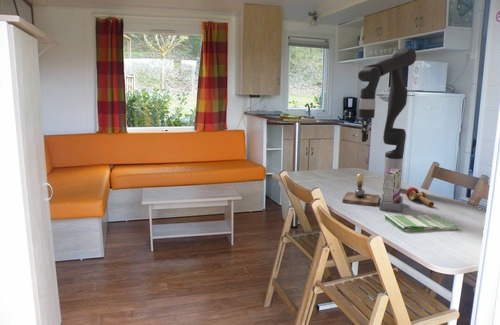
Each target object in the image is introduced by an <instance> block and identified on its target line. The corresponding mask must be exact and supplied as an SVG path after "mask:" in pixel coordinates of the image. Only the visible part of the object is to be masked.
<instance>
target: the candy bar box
mask: <svg viewBox="0 0 500 325" xmlns="http://www.w3.org/2000/svg"><path fill="white" fill-rule="evenodd" d="M401 171H402V172H403V169H402V170H401V169H390V170H388V171H387V172H385V178H384V177H383V178H384V188H383V194H384V196H383V202H386V203H395V204H399V200H400V196H401V188H400V185H401V186H402V176H401Z"/></svg>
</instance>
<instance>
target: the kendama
mask: <svg viewBox="0 0 500 325" xmlns="http://www.w3.org/2000/svg"><path fill="white" fill-rule="evenodd" d="M405 196H406V197H407V198H408V199H409V200H411V201H414V200H419V201H420V202H422V203H423V204H425V205H426V206H427V207H428V208H433V207H434V205H435V203H434V201H432V200H431V199H428V195H427V192H425V191H419V190H418V189H417V188H416V187H412V186H411V187H409V188H407V190H406V192H405Z"/></svg>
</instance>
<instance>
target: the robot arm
mask: <svg viewBox="0 0 500 325" xmlns="http://www.w3.org/2000/svg"><path fill="white" fill-rule="evenodd" d="M416 58H417V53H416V51H415V49H414V48H411V47H404V48H397V49H395V50H394V51H393V52H392V55H391V57H388V58H385V59H383V60H380V61H378V62H375V63H373V64H368V65H366V66H363V67H361V68H360V69H359V70H358V74H357V77H358V79H359V80H360V82H364V83H365V82H366V83H367V82H368V84H367V85H366V86H362V87H361V89H360V98H359V105H358V106H359V107H358V118H360V119H363V120H362V121H361V142H363V143H367V141H368V140H369V133H370V128H371V119H374V118H375V112H376V111H375V110H376V91H377V87H378V85H379V82H380V78H381V77H382V76H385V75H387V74H390V85H389V92H388V103H387V111H386V120H385V126H384V130H383V136H382V138H383V140H382V141H383V143H384V144H385V145H388V146H395V148H394V149H392V150H389V151H385V153H384V154H385V155H384V168H383V182H382V188H383V189H384V178H385V172H387V171H388V170H390V169H401V170H402V171H401V177H402V175H403V173H402V172H403V164H404V163H403V162H404V161H403V160H404V153H405V146H406V139H407V133H406V130H405V129H404V128H397V127H394V124H395V121H396V119H397V118H398V116H399V115H400V113H401V112H402V111H403V110H404V109H405V107H406V106H407V102H408V101H407V100H408V88H407V86H406V84H405V82H404V80H403V78H402V68H403V67H409V66H412V65H413V64H414V63H415V62H416V60H417V59H416ZM401 186H402V184H401V185H400V189H401V188H402V187H401Z"/></svg>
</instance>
